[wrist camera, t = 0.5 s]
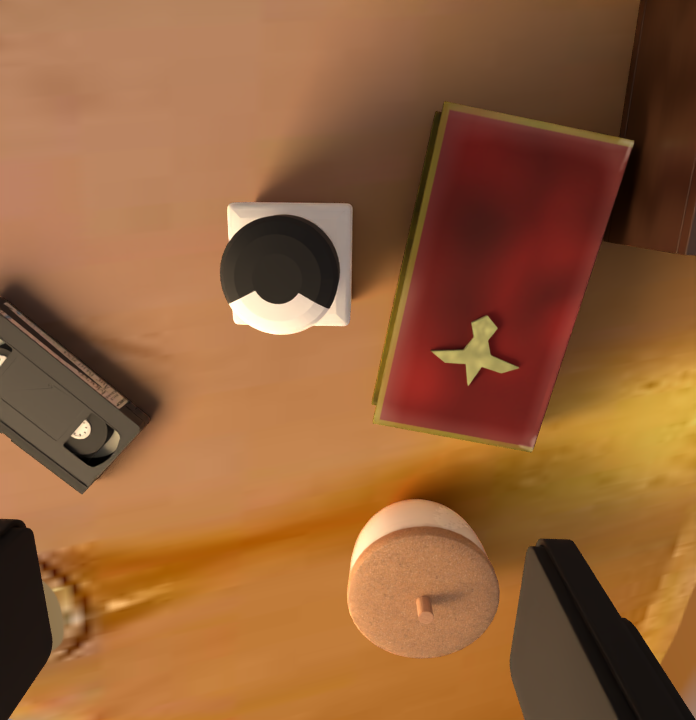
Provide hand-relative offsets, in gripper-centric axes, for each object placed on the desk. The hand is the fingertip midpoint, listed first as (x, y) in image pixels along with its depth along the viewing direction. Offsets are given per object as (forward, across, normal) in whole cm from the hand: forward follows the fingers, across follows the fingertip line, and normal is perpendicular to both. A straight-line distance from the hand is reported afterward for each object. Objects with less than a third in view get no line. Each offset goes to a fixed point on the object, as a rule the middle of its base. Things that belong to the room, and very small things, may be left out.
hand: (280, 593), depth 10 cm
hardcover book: (+30, -10, -2) cm, 32 cm away
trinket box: (+30, -7, +20) cm, 36 cm away
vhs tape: (+30, +22, +8) cm, 38 cm away
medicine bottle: (+30, +3, -3) cm, 30 cm away
